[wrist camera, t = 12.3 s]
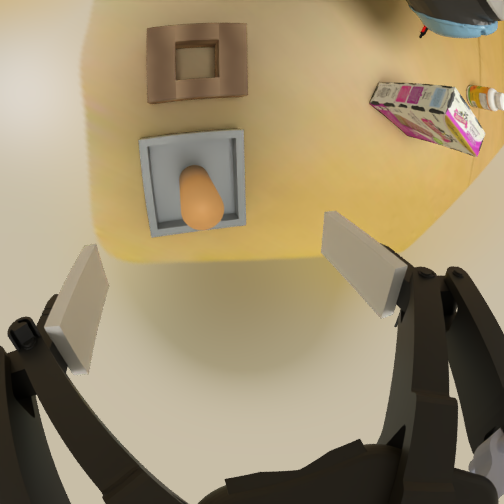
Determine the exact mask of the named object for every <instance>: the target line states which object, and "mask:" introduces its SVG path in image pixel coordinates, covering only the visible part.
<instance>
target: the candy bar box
mask: <svg viewBox="0 0 504 504" xmlns="http://www.w3.org/2000/svg"><path fill="white" fill-rule="evenodd" d="M370 104H371V105H372V106H373V107H374V108H376V109H377V110H378V111H379V112H381V113H382V114H383V115H384V116H386V117H387V118H388V119H389V120H390V121H392V122H393V123H394V124H395V125H396V126H397V127H399V128H400V129H401V130H402V131H403V132H404V133H405V134H406V135H407V136H410V137H414V138H418V139H421V140H425V141H429V142H432V143H435V144H439V145H442V146H445V147H448V148H451V149H455V150H457V151H461V152H464V153H467V154H469V155H472V156H475V157H477V156H478V154H479V151H480V148H481V145H482V142H483V139H484V136H485V132H484V130H483V129H482V127H481V125H480V124H479V122H478V120H477V119H476V117H475V115H474V114H473V112H472V111H471V109H470V108H469V106H468V105H467V103H466V102H465V100H464V99H463V98H462V96H461V95H460V93H459V92H458V90H457V89H456V88H455V87H450V86H441V85H430V84H413V83H380V82H379V83H378V85H377V88H376V90H375V92H374V94H373V96H372V98H371V101H370Z"/></svg>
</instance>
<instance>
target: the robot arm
mask: <svg viewBox="0 0 504 504" xmlns="http://www.w3.org/2000/svg"><path fill="white" fill-rule="evenodd" d="M406 1H407V2H408V4H409V7H410V8H411V10H412V11H414V12H415V13H416V14H417V16H418V17H419V18H420V20H421V21H422V22H423V24H424V25H425V26H426V27H427V28H428V29H429V30H431V31H433V32H434V33H436V34H439V35H442V36H446V37H452V38H476V37H480V36H481V35H489V34H492V33H493V32H495V31H496V30H497V27H498V25H497V23H498V22H497V21H504V0H406ZM321 253H322V254H323V255H324V256H325V257H326V259H327V260H328V261H329V262H330V263H331V264H332V265H333V266H334V267H335V268H336V269H337V270H338V271H339V272H340V273H341V274H342V276H343V277H344V278H345V279H346V280H347V281H348V282H349V283H350V284H351V285H352V287H353V288H354V289H355V290H356V291H357V292H358V293H359V294H360V296H361V297H362V298H363V299H364V300H365V301H366V302H367V303H368V304H369V306H370V307H371V308H372V309H373V310H374V311H375V312H376V314H377V315H378V316H379V317H380V318H384V317H387V316H390V315H393V313H394V310H395V306H396V304H397V305H398V306H399V307H400V308H401V310H400V313H399V316H398V318H397V321H396V324H395V327H397V325H398V333H397V343H396V353H395V361H394V370H393V377H392V383H391V390H390V396H389V402H388V407H387V412H386V417H385V422H384V426H383V430H382V433H381V436H380V438H379V440H378V442H377V444H366V445H363V443H362V442H361V440H360V439H358V440H356V441H353V442H351V443H349V444H346V445H344V446H341V447H339V448H336V449H334V450H331V451H329V452H328V453H326V454H325V455H323V456H322V457H320V458H319V459H317V460H315V461H314V462H312V463H311V464H309V465H307V466H306V467H304V468H302V469H300V470H294V471H279V472H258V473H254V474H249V475H244V476H239V477H234V478H228V479H225V482H226V485H225V486H223V487H220V488H218V489H217V490H215V491H213V492H211V493H210V494H208V495H207V496H205V497H204V498H203V499H202V500H201V501H200V502H199V503H198V504H498V499H499V498H500V497H501V496H502V495H503V494H504V334H503V332H502V330H501V328H500V326H499V324H498V322H497V321H496V319H495V317H494V315H493V313H492V312H491V310H490V308H489V307H488V305H487V303H486V302H485V300H484V298H483V297H482V295H481V293H480V292H479V290H478V289H477V287H476V286H475V284H474V282H473V281H472V279H471V278H470V276H469V275H468V274H467V273H466V272H465V271H464V270H463V269H462V268H459V267H449V268H448V269H447V272H446V275H445V276H437V275H436V273H434V271H432V270H430V269H428V268H425V267H413V266H412V265H411V264H410V263H408V262H407V261H406V260H405V259H403V258H402V257H400V256H399V255H398V254H397V253H395V251H393V250H392V249H391V248H389V247H388V246H385V245H383V244H381V243H379V242H377V241H376V240H375V239H373V238H372V237H371V236H369V235H368V234H367V233H365V232H364V231H363V230H361V229H360V228H359V227H357V226H356V225H355V224H353V223H352V222H350V221H349V220H348V219H346V218H345V217H344V216H342V215H341V214H339V213H338V212H337V211H329V212H325V213H324V226H323V238H322V249H321ZM108 288H109V284H108V281H107V278H106V275H105V271H104V268H103V265H102V262H101V259H100V256H99V252H98V249H97V245H96V244H91V245H86V246H84V247H83V249H82V250H81V252H80V254H79V256H78V258H77V259H76V261H75V263H74V265H73V267H72V269H71V271H70V273H69V274H68V276H67V278H66V280H65V282H64V285H63V286H62V288H61V290H60V292H59V294H55V295H53V296H52V297H51V299H50V300H49V301H48V302H47V304H46V306H45V308H44V309H45V310H44V311H43V313H42V316H41V317H40V319H39V322H38V323H37V326H36V325H35V324H34V322H33V320H32V319H31V318H30V317H21V318H19V319H17V320H16V321H15V322H13V323H12V325H11V326H10V327H9V329H8V337H9V339H10V340H11V342H12V343H13V345H14V346H15V348H16V349H17V350H15V351H12V352H10V353H6V352H5V350H4V348H3V347H1V346H0V504H71V503H70V501H69V499H68V496H67V494H66V492H65V490H64V487H63V485H62V482H61V480H60V478H59V475H58V472H57V470H56V467H55V464H54V461H53V459H52V456H51V453H50V450H49V446H48V443H47V440H46V436H45V433H44V429H43V426H42V422H41V418H40V414H39V409H38V405H37V401H36V395H37V396H38V398H39V400H40V402H41V403H42V405H43V407H44V409H45V411H46V413H47V414H48V416H49V418H50V420H51V422H52V423H53V425H54V427H55V428H56V430H57V431H58V433H59V435H60V436H61V438H62V440H63V441H64V443H65V444H66V446H67V447H68V448H69V450H70V451H71V453H72V454H73V456H74V457H75V459H76V460H77V462H78V463H79V464H80V466H81V467H82V468H83V470H84V471H85V472H86V474H87V475H88V476H89V477H90V479H91V480H92V481H93V482H94V483H95V485H96V486H97V487H98V488H99V490H100V491H101V492H102V494H103V497H102V498H103V500H104V502H105V503H106V504H188V503H187V502H185V501H184V500H183V499H181V498H180V497H179V496H178V495H176V494H175V493H174V492H172V491H171V490H170V489H169V488H167V487H166V486H165V485H164V484H163V483H162V482H160V481H159V480H158V479H157V478H156V477H155V476H154V475H153V474H151V473H150V472H149V471H148V470H147V469H146V468H145V467H144V466H143V465H141V463H139V461H138V460H137V459H135V458H134V456H133V455H132V454H130V453H129V451H128V450H127V449H126V448H125V447H124V446H123V445H122V444H121V443H120V442H119V441H118V440H117V438H116V437H115V436H114V435H113V434H112V433H111V432H110V431H109V429H108V428H107V427H106V426H105V425H104V424H103V423H102V421H101V420H100V419H99V418H98V416H97V415H96V414H95V413H94V411H93V410H92V409H91V408H90V406H89V405H88V404H87V402H86V401H85V400H84V398H83V397H82V396H81V395H80V393H79V392H78V390H77V389H76V387H75V386H74V385H73V383H72V382H71V380H70V379H69V377H68V376H67V374H66V371H67V367H69V369H70V370H71V372H72V373H73V375H86V374H87V375H88V374H89V369H90V363H91V358H92V353H93V348H94V343H95V339H96V335H97V330H98V326H99V322H100V318H101V313H102V310H103V306H104V302H105V298H106V295H107V291H108ZM457 307H458V310H457V312H456V309H457ZM448 361H449V364H450V368H451V371H452V374H453V378H454V381H455V385H456V388H457V392H458V396H459V400H460V404H461V408H462V413H463V417H464V422H465V427H466V432H467V436H468V440H469V443H470V446H471V449H472V452H473V454H474V459H473V460H472V461H471V462H470V464H469V471H470V472H468V471H464V470H460V469H457V468H454V463H455V454H456V442H457V426H458V403H457V400H456V398H451V397H450V396H449V367H448Z"/></svg>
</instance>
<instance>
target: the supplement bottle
mask: <svg viewBox="0 0 504 504" xmlns="http://www.w3.org/2000/svg"><path fill="white" fill-rule="evenodd" d="M466 94H467V99H468V102H469V104H470V105H471V106H473V107H477V108H482V109H487V110H491V111H497V110H498V109H500V110H504V94H503V93H499V92H497V91H496V90H495V89H493V88H488V87H481V86H474V85H470V86H468V88H467V92H466Z"/></svg>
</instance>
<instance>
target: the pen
mask: <svg viewBox="0 0 504 504" xmlns="http://www.w3.org/2000/svg"><path fill="white" fill-rule="evenodd" d="M427 30H428V28H427V27H426V26H425V25H424V27H423V29H422V31H421V35H420V38H421V37H422V36H424V35H425V34H426V32H427Z"/></svg>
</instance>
